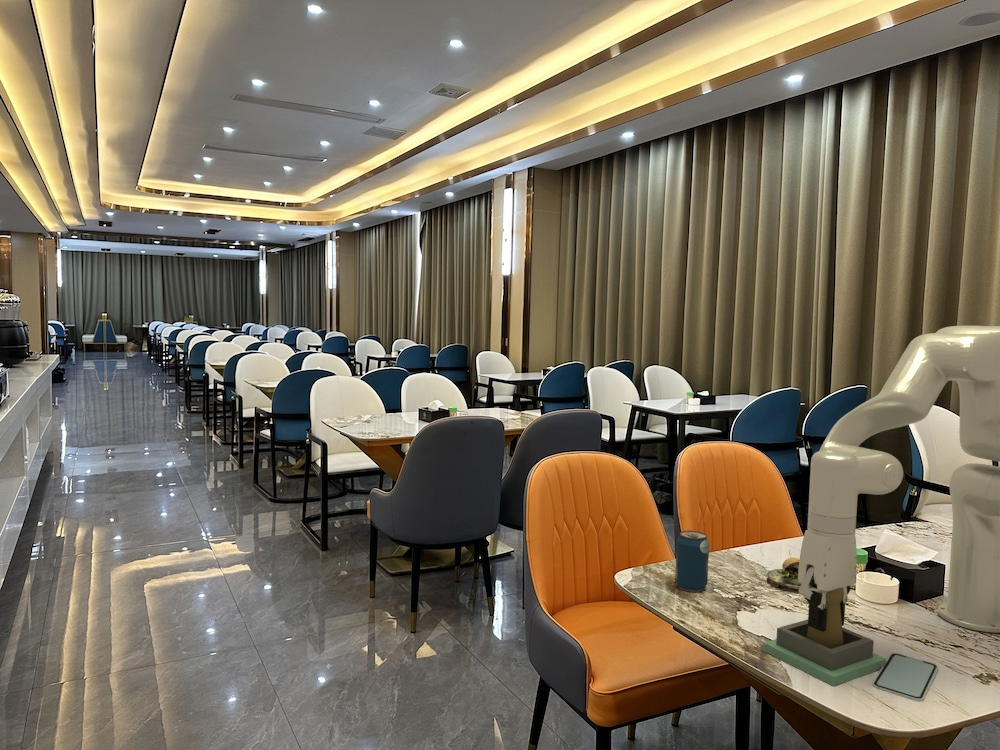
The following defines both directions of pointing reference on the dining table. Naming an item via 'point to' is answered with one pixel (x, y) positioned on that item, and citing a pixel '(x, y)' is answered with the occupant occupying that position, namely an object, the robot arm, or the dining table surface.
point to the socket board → (825, 654)
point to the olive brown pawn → (830, 621)
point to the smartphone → (906, 676)
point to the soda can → (692, 561)
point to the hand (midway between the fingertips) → (825, 624)
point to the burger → (785, 574)
